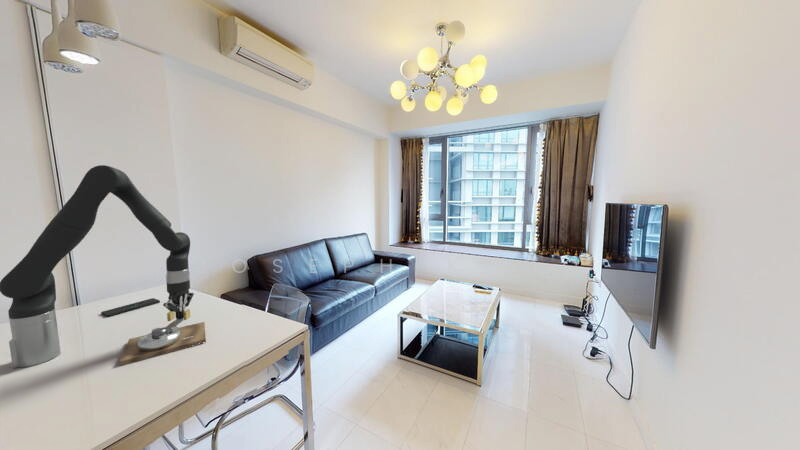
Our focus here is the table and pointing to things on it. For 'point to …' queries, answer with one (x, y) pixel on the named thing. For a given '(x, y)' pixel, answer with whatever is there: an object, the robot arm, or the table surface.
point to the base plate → (187, 338)
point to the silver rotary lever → (163, 334)
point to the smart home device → (130, 307)
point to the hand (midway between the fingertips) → (180, 318)
